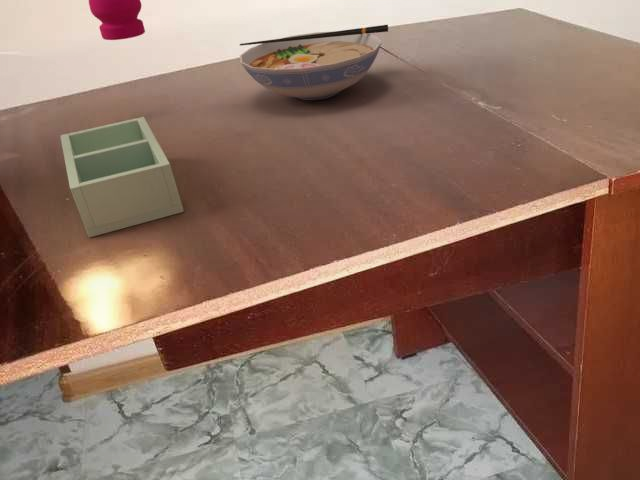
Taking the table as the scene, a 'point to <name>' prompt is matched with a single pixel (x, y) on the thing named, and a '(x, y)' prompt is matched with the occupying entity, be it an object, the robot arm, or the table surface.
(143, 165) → the green divided box
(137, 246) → the table surface
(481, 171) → the table surface
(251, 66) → the ramen bowl
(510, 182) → the table surface
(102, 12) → the pepper mill
